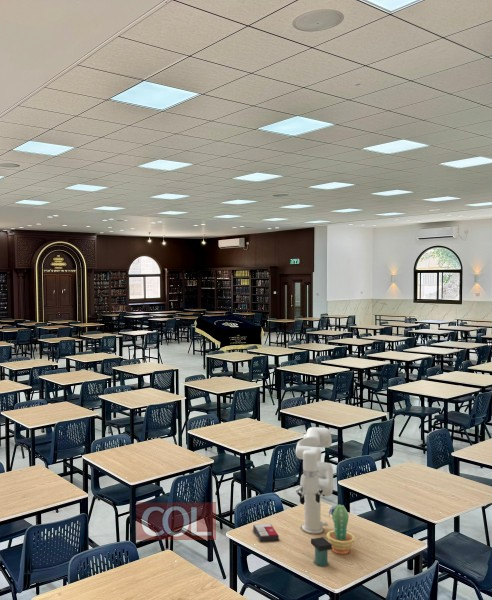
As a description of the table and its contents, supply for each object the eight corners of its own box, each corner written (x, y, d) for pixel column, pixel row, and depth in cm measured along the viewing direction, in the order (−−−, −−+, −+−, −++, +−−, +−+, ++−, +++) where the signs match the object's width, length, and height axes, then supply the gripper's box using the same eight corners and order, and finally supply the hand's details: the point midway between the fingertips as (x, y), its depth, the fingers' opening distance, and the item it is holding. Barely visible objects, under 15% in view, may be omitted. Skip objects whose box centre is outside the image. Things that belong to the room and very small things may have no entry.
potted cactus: (343, 541, 319) (343, 499, 319) (361, 553, 305) (361, 509, 304) (320, 546, 314) (320, 502, 313) (337, 558, 300) (337, 513, 299)
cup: (323, 559, 299) (323, 542, 299) (329, 565, 293) (329, 548, 293) (312, 560, 297) (312, 544, 297) (318, 566, 291) (318, 549, 291)
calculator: (260, 535, 319) (253, 523, 334) (260, 542, 320) (253, 530, 334) (278, 534, 321) (270, 522, 336) (278, 541, 321) (270, 529, 336)
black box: (323, 541, 300) (323, 537, 300) (331, 549, 291) (331, 544, 291) (310, 543, 298) (310, 538, 298) (319, 551, 289) (319, 546, 289)
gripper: (320, 469, 316) (320, 498, 316) (292, 472, 311) (292, 501, 312) (327, 473, 309) (327, 503, 309) (299, 476, 304) (299, 507, 305)
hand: (309, 502), depth 310 cm, fingers open, 9 cm apart
